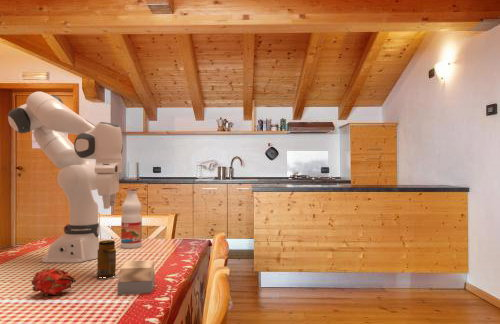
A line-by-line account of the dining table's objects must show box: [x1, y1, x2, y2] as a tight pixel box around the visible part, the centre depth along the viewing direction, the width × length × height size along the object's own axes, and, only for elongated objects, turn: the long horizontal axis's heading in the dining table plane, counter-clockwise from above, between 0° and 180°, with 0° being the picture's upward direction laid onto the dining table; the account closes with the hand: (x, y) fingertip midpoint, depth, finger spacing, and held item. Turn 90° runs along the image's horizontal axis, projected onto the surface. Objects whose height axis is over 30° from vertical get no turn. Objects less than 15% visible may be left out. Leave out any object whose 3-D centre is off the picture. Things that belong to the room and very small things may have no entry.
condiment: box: [92, 239, 120, 281], centre depth 130 cm, size 7×8×12 cm
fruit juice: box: [120, 187, 143, 249], centre depth 179 cm, size 9×9×28 cm
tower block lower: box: [117, 271, 156, 296], centre depth 117 cm, size 10×10×4 cm
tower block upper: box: [119, 259, 155, 282], centre depth 117 cm, size 9×9×4 cm
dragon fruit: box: [31, 267, 77, 298], centre depth 111 cm, size 8×8×12 cm
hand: (109, 207), depth 131 cm, fingers open, 8 cm apart
